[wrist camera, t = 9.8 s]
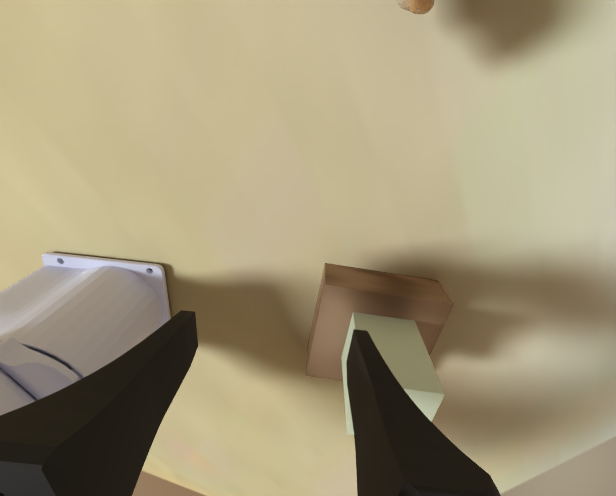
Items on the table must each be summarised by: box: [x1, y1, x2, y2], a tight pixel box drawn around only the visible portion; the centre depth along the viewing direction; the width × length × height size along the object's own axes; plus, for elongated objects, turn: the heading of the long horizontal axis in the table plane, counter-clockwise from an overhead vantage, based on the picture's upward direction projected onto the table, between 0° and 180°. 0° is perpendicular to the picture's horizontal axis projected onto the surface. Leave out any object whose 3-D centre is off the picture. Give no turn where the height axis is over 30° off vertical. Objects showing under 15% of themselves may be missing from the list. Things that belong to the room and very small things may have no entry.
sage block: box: [341, 312, 445, 435], centre depth 20 cm, size 4×4×6 cm
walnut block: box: [306, 263, 453, 381], centre depth 24 cm, size 9×9×4 cm
